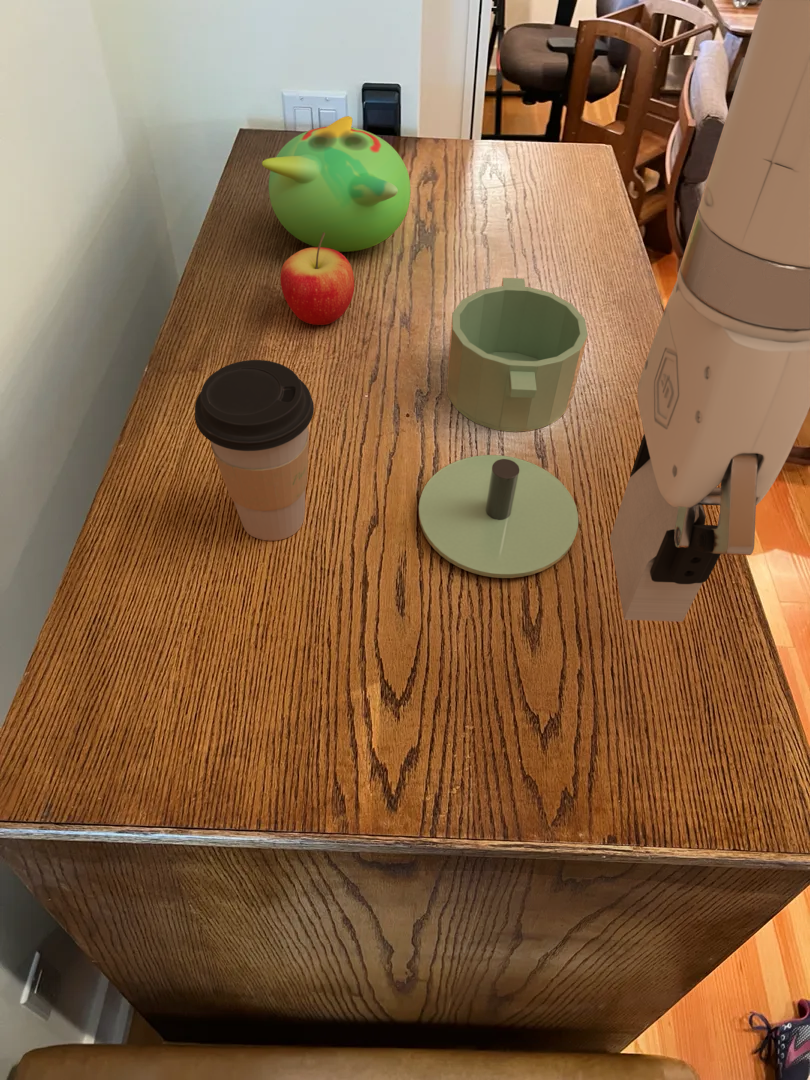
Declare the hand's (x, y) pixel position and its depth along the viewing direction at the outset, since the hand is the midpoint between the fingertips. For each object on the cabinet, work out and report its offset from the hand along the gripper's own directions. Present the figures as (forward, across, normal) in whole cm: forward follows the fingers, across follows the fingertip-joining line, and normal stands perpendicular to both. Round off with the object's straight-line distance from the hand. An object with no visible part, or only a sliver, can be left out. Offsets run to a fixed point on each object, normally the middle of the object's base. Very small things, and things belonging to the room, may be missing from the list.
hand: (665, 527), depth 47 cm
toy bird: (+19, -65, -27) cm, 73 cm away
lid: (+18, -17, -8) cm, 26 cm away
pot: (+19, -36, -6) cm, 41 cm away
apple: (+19, -48, -28) cm, 58 cm away
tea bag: (+5, 0, 0) cm, 5 cm away
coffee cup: (+19, -16, -29) cm, 38 cm away
